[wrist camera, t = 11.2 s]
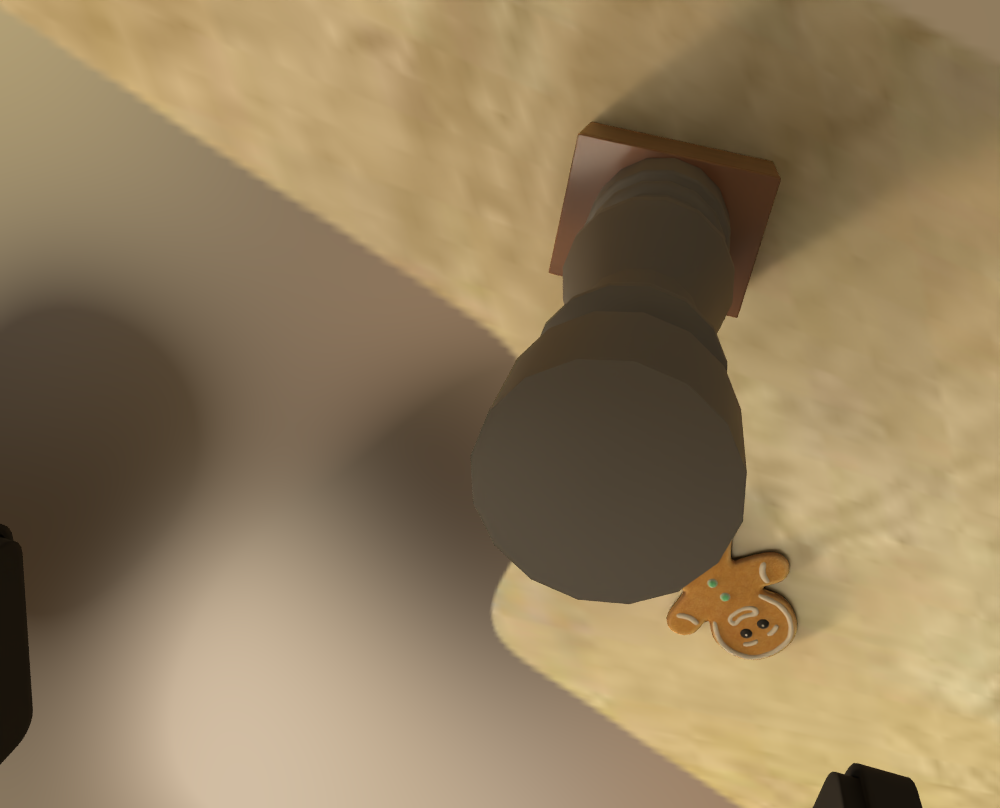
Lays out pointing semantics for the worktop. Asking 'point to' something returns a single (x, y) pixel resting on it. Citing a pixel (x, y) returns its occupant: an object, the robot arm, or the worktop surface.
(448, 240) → the worktop surface
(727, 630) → the cookie
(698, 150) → the brown wooden block
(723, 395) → the candle holder
